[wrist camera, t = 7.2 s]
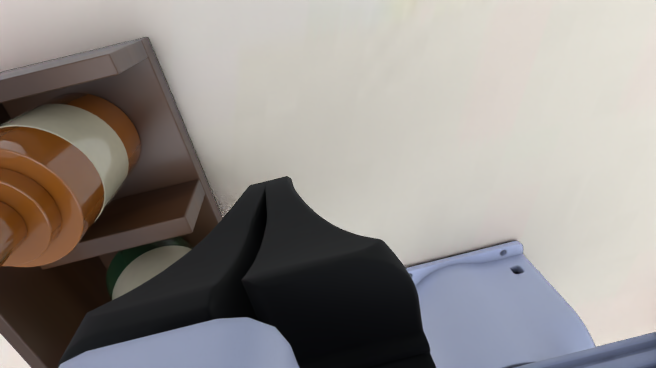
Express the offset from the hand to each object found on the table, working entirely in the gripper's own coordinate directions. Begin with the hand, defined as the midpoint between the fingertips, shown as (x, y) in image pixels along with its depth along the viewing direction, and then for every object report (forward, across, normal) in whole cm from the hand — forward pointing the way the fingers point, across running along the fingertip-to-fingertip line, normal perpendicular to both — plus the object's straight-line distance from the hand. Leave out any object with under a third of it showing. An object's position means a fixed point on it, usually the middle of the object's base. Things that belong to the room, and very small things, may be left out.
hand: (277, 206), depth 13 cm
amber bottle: (+9, +10, -1) cm, 13 cm away
